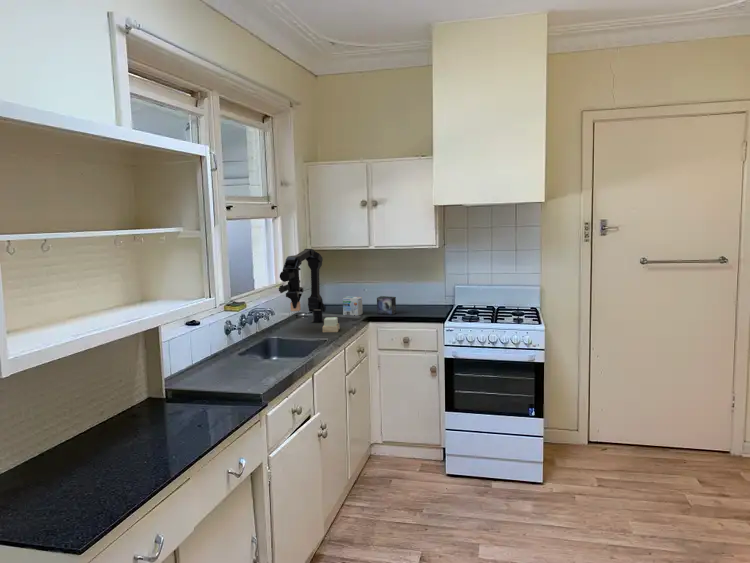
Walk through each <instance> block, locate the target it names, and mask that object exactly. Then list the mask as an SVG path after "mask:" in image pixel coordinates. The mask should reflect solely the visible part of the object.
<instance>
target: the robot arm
mask: <svg viewBox="0 0 750 563" xmlns="http://www.w3.org/2000/svg"><path fill="white" fill-rule="evenodd" d="M323 259H324V258H323V256H322V255H321V254H320V253H318V251H316V250H314V248H305V249H303V250H302V251H300V252H298V253H297V254H295V255H294V254H293V255H288V256H287V257H286V259H285V261H284V265H283V268H282V271H281V272H280V274H279V279H280V281H282V282H285V283H287V284H285V285H284V284H281V285H279V287H278V291H279V293H280V294H283V293H285V297H286V298H288V299H289V300H290V301H291V302H292V304H293V308H296V306H297V303H298V302H301V298H302V295H303V293H304V287H302V286H300V285H301V284H300V283H301V280H300V271H301V268H300V267H301V265H302V264H303V263H302V262H303V261H306V262H307V265H308V267H309V269H310V296H309V297H308V298H307V307H308V312H312V320H311V323H324V319H325V318H323V317H324V316H323V315H324V314H323V313H325V312H326V311H327V310H326V309H327V308H326V305H325V304H324V302H323V300H324V299H323V297H322V296H321V294H320V291H321V290H320V289H321V288H320V269H321V268H322V267H323V266H322V265H323Z"/></svg>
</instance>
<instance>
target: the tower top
mask: <svg viewBox="0 0 750 563" xmlns="http://www.w3.org/2000/svg"><path fill="white" fill-rule="evenodd" d="M323 319H324V321H323V325H324V326H337V324H338V319H339V318H338V317H336V316H335V317H327V316H326V317H325V318H323Z"/></svg>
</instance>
